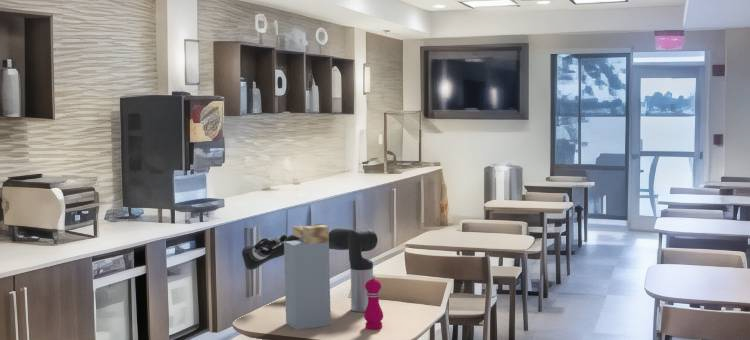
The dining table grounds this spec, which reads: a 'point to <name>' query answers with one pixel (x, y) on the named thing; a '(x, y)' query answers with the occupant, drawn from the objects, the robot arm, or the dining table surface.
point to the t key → (312, 233)
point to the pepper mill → (373, 305)
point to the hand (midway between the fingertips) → (276, 239)
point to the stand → (307, 284)
